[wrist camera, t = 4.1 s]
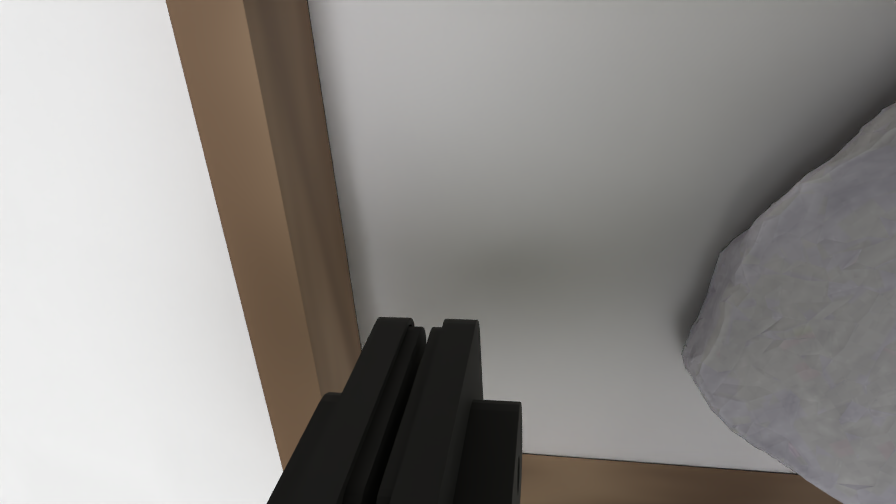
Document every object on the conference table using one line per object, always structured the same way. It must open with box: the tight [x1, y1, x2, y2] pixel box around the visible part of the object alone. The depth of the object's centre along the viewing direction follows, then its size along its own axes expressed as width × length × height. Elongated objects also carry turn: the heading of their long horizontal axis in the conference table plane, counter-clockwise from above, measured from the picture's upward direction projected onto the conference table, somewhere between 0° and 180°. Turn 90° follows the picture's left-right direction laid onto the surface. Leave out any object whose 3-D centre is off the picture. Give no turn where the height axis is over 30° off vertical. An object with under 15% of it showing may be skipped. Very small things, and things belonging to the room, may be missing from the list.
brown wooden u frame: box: [166, 0, 843, 504], centre depth 13 cm, size 20×18×3 cm
